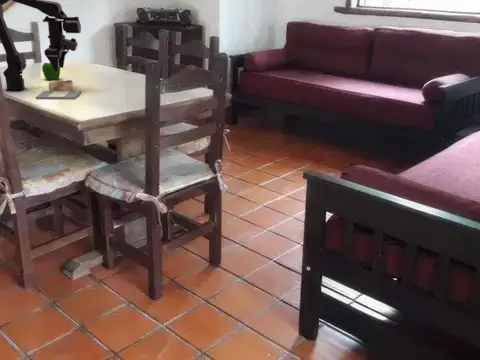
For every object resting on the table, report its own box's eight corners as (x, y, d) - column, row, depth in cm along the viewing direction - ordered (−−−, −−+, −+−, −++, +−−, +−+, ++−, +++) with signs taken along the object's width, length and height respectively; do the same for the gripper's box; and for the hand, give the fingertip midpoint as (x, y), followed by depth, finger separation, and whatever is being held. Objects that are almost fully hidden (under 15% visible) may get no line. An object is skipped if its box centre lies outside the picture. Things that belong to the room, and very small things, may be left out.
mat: (35, 98, 225) (35, 96, 225) (43, 92, 236) (43, 90, 236) (75, 99, 226) (74, 97, 226) (81, 93, 237) (81, 91, 237)
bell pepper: (49, 82, 258) (46, 60, 255) (40, 79, 264) (38, 58, 260) (65, 79, 264) (63, 58, 261) (56, 77, 269) (54, 56, 266)
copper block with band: (49, 91, 240) (48, 82, 238) (52, 89, 244) (51, 80, 243) (70, 92, 240) (69, 82, 239) (73, 89, 245) (72, 80, 243)
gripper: (69, 35, 225) (73, 73, 231) (79, 30, 242) (82, 66, 248) (42, 35, 224) (46, 73, 230) (54, 30, 242) (57, 65, 247)
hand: (59, 69), depth 239 cm, fingers open, 9 cm apart
